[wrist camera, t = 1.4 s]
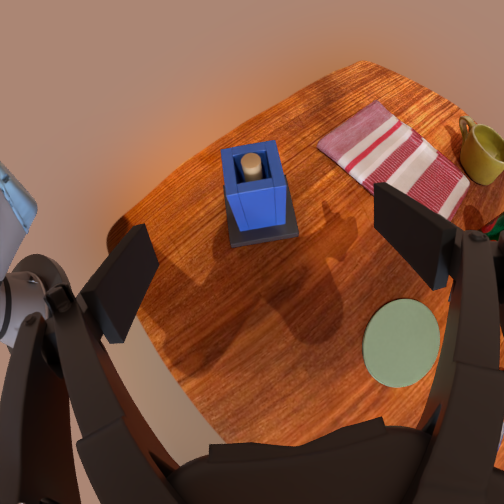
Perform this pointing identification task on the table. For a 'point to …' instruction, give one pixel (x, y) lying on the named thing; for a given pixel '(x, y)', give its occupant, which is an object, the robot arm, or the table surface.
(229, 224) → the dowel stand
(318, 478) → the robot arm
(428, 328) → the coaster
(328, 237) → the table surface
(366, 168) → the dish towel
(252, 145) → the sleeve
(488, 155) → the mug
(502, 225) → the soda can
